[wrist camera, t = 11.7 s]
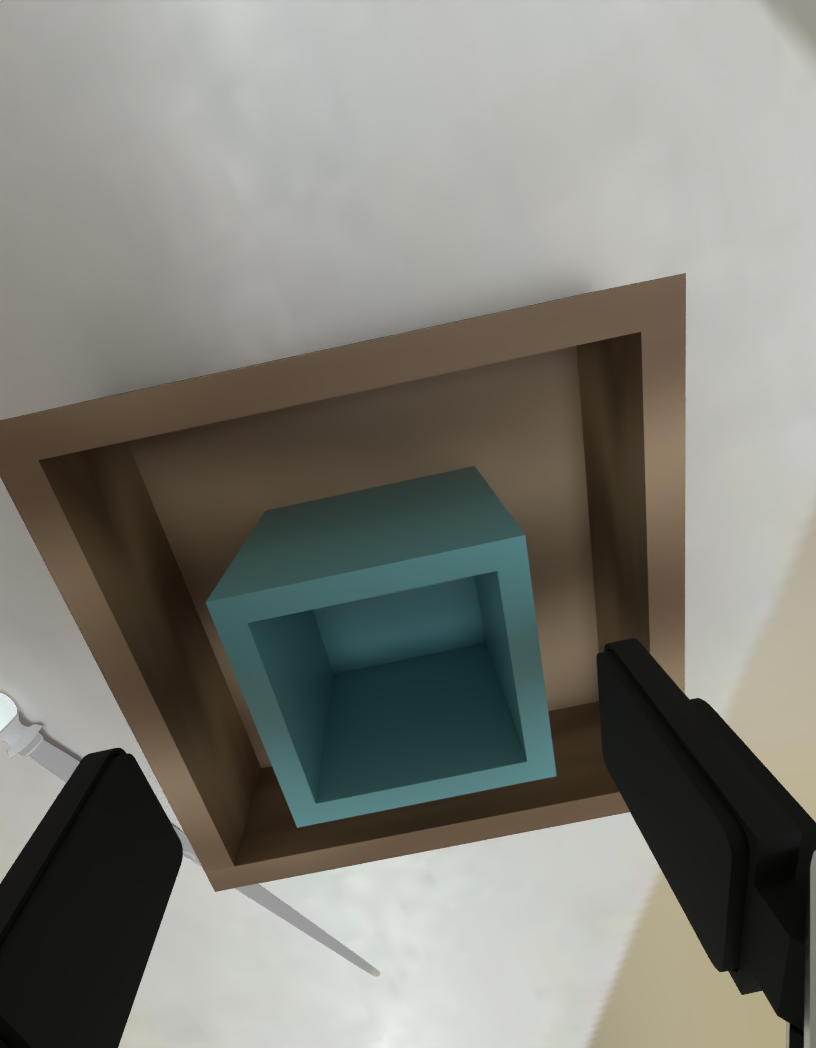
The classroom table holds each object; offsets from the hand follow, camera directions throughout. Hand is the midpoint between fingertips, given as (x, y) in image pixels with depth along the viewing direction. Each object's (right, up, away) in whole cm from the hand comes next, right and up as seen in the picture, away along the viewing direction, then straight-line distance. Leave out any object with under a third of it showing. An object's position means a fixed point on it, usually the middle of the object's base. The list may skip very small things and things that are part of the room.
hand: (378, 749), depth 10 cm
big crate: (0, +3, +9) cm, 9 cm away
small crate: (0, +2, +8) cm, 8 cm away
